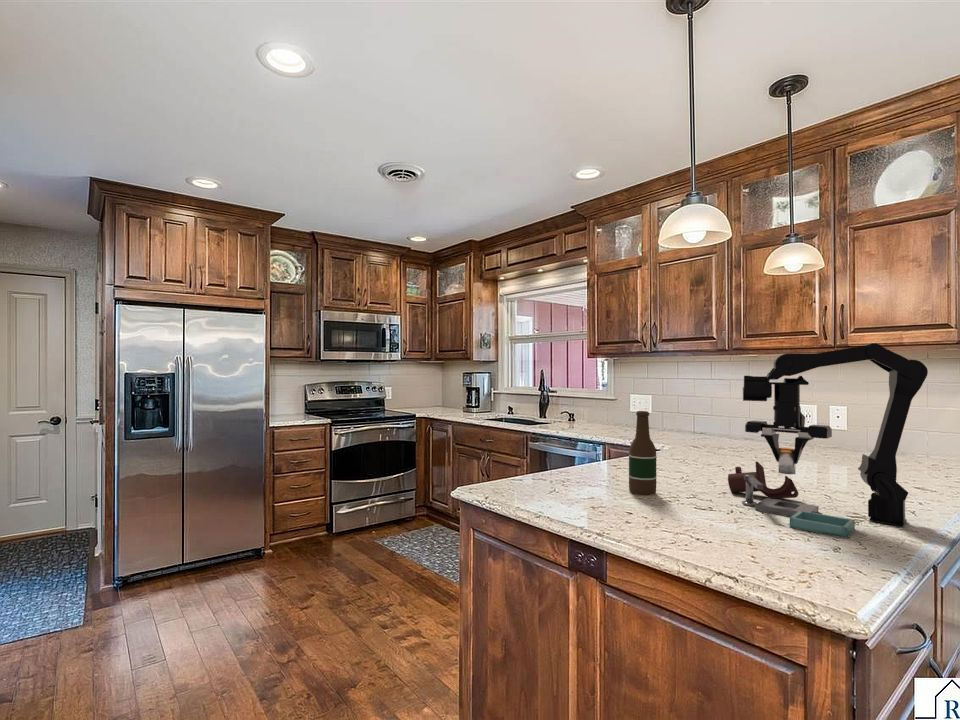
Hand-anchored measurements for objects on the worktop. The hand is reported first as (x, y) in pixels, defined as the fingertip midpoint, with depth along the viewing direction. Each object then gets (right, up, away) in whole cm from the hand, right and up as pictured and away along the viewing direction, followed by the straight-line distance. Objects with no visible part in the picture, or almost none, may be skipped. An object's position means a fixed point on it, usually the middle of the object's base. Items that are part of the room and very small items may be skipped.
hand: (787, 462), depth 136 cm
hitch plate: (-2, -13, +2) cm, 13 cm away
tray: (-1, -12, -15) cm, 19 cm away
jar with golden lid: (0, -3, 0) cm, 3 cm away
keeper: (-8, -6, +1) cm, 10 cm away
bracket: (+2, -13, +16) cm, 21 cm away
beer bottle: (-31, -13, +19) cm, 39 cm away
